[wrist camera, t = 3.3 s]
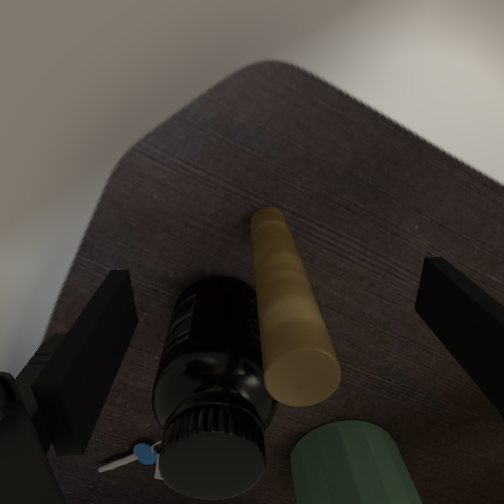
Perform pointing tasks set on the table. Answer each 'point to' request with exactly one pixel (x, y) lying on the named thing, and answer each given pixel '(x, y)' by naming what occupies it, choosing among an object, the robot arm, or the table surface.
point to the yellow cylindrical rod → (289, 318)
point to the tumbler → (350, 467)
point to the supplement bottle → (213, 392)
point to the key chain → (142, 453)
